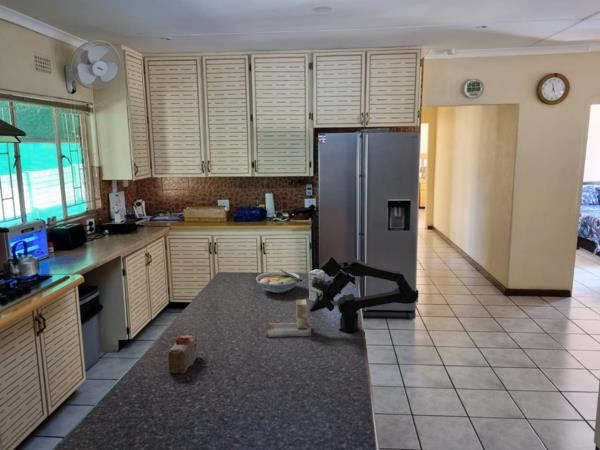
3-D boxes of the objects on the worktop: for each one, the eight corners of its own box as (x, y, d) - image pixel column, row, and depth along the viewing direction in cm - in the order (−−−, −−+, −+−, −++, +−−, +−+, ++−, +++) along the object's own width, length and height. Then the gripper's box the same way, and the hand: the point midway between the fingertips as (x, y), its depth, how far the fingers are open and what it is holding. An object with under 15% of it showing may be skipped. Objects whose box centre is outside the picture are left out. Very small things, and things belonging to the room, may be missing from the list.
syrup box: (318, 302, 218) (318, 273, 215) (308, 300, 222) (308, 271, 219) (325, 299, 223) (325, 270, 220) (315, 296, 226) (315, 268, 223)
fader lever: (306, 325, 188) (306, 299, 185) (307, 330, 182) (306, 304, 180) (296, 325, 187) (296, 299, 185) (297, 331, 182) (296, 304, 180)
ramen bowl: (249, 287, 242) (249, 272, 241) (288, 281, 252) (288, 267, 250) (266, 302, 220) (265, 285, 218) (308, 294, 229) (308, 279, 228)
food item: (180, 354, 167) (178, 329, 165) (201, 355, 166) (200, 330, 164) (166, 373, 154) (164, 346, 152) (189, 374, 153) (187, 347, 151)
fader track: (309, 327, 189) (309, 321, 189) (311, 335, 181) (311, 329, 181) (266, 328, 188) (266, 323, 188) (266, 337, 180) (265, 331, 180)
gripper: (321, 264, 190) (295, 290, 191) (325, 277, 172) (296, 306, 173) (339, 282, 192) (314, 307, 193) (346, 297, 173) (317, 325, 175)
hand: (310, 311), depth 184 cm, fingers closed
